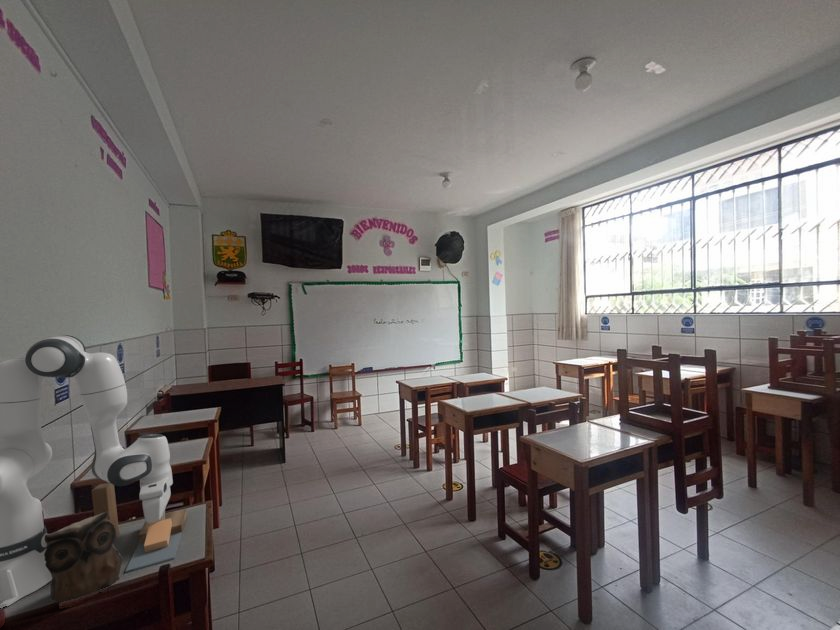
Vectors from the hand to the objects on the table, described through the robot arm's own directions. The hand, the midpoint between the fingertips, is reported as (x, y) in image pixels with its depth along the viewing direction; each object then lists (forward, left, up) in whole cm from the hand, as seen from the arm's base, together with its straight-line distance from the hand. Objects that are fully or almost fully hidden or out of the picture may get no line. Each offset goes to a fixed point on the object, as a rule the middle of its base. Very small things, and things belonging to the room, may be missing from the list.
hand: (161, 523), depth 131 cm
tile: (0, -5, -2) cm, 6 cm away
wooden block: (-19, +8, -4) cm, 21 cm away
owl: (-13, -21, -4) cm, 25 cm away
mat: (0, -10, -4) cm, 11 cm away
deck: (0, +3, -4) cm, 5 cm away
